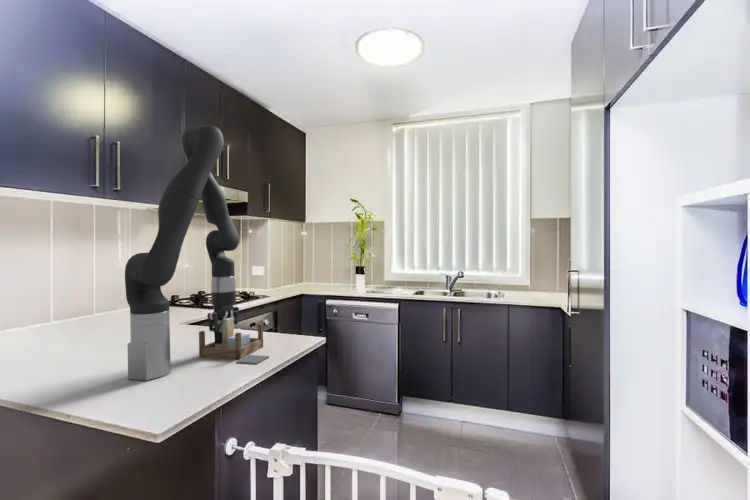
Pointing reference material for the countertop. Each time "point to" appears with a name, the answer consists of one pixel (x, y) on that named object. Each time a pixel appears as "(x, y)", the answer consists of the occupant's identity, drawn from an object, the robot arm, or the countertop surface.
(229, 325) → the box
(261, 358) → the mat
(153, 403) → the countertop surface
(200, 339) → the frame
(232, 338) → the offcut top
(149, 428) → the countertop surface
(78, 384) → the countertop surface
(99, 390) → the countertop surface
